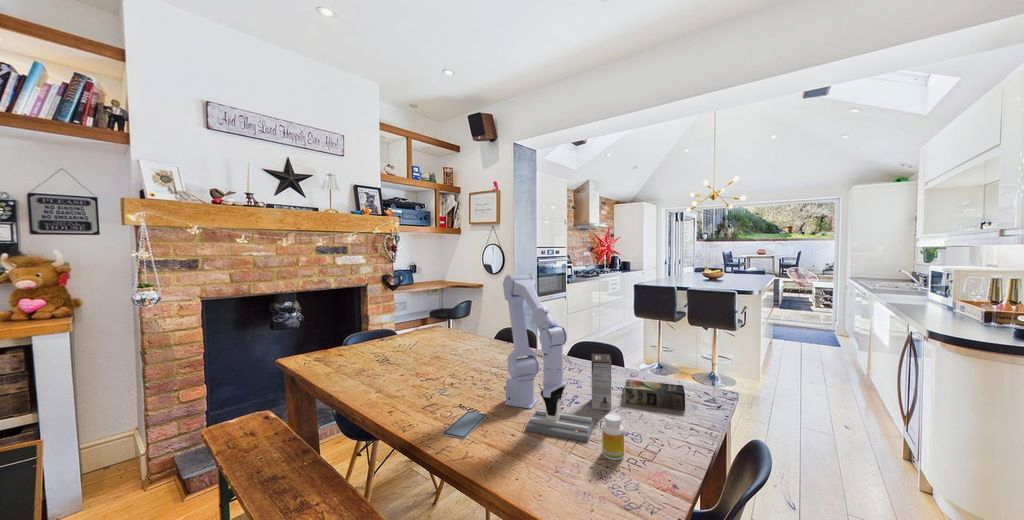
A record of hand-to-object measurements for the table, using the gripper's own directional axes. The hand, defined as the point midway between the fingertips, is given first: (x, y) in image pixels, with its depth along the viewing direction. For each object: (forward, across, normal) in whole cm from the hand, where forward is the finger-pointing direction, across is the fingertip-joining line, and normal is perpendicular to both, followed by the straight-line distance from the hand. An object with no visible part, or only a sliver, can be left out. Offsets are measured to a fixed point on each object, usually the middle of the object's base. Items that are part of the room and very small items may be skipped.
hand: (553, 412), depth 109 cm
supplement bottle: (+4, -10, -18) cm, 21 cm away
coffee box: (+4, +20, -11) cm, 23 cm away
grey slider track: (+4, 0, -2) cm, 5 cm away
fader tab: (+2, 0, 0) cm, 2 cm away
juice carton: (+4, +29, -28) cm, 40 cm away
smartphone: (+4, -9, +25) cm, 27 cm away
